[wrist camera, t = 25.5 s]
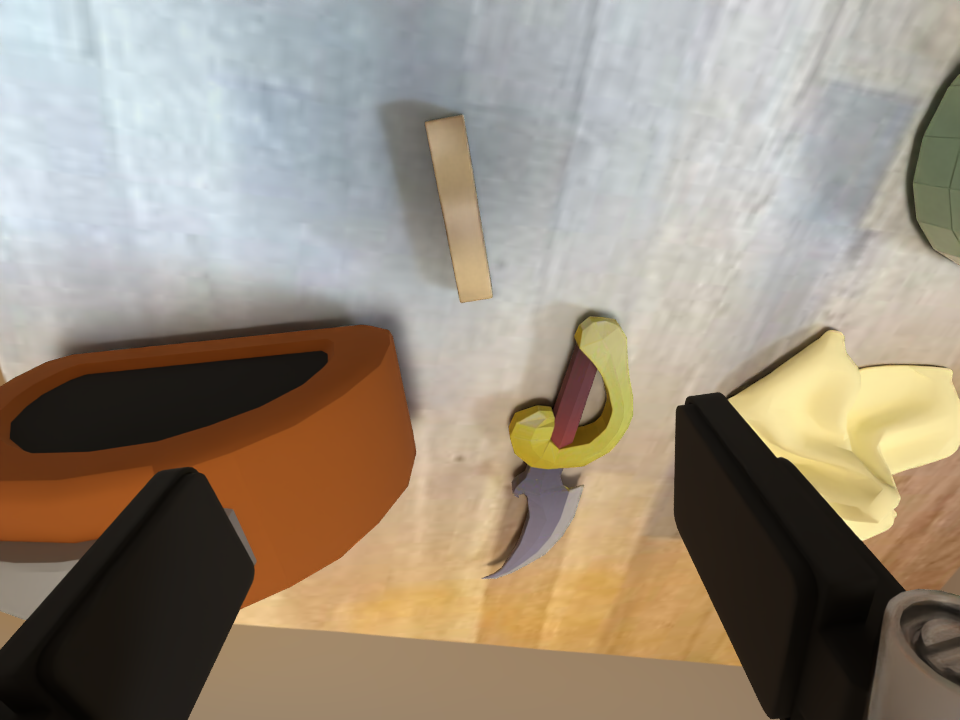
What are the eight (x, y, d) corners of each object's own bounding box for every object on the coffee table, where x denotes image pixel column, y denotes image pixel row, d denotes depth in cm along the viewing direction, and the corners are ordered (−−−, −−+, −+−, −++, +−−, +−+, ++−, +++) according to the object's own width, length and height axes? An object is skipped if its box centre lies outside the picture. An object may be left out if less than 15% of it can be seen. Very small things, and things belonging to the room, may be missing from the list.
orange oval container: (402, 310, 32) (336, 488, 17) (424, 423, 36) (386, 647, 21) (58, 346, 33) (-287, 543, 18) (118, 452, 37) (-122, 684, 22)
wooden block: (427, 120, 27) (423, 121, 25) (463, 114, 27) (462, 114, 25) (461, 292, 31) (460, 303, 29) (492, 287, 31) (492, 298, 29)
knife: (549, 576, 43) (659, 324, 32) (553, 603, 41) (674, 341, 30) (463, 562, 43) (546, 299, 31) (462, 589, 40) (552, 314, 29)
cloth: (760, 314, 32) (818, 357, 27) (1012, 358, 34) (1116, 407, 28) (647, 552, 42) (673, 618, 37) (846, 577, 44) (899, 644, 38)
